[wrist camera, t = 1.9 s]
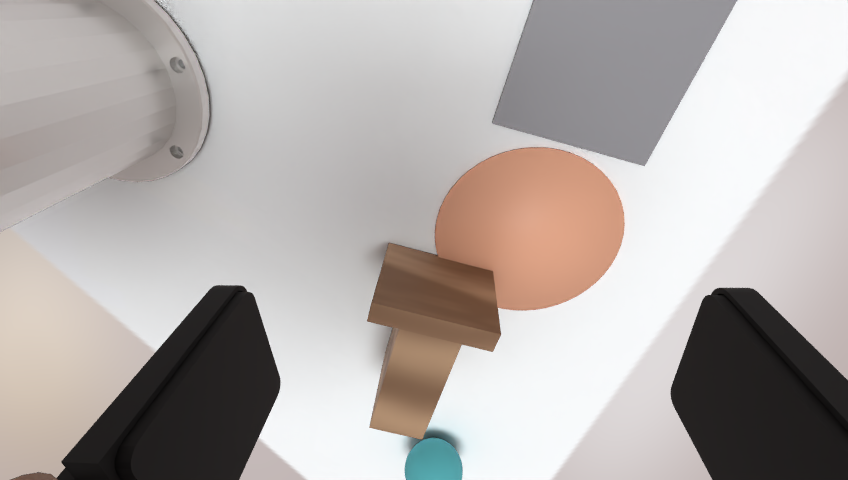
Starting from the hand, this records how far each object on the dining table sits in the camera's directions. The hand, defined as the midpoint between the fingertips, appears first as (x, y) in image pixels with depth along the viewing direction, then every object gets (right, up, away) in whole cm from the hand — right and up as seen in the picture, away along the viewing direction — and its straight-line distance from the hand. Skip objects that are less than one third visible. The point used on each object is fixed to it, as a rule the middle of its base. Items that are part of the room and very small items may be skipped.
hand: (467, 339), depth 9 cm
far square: (+9, +12, +14) cm, 21 cm away
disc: (+6, +2, +20) cm, 22 cm away
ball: (0, -20, +31) cm, 36 cm away
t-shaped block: (-1, -4, +25) cm, 25 cm away
